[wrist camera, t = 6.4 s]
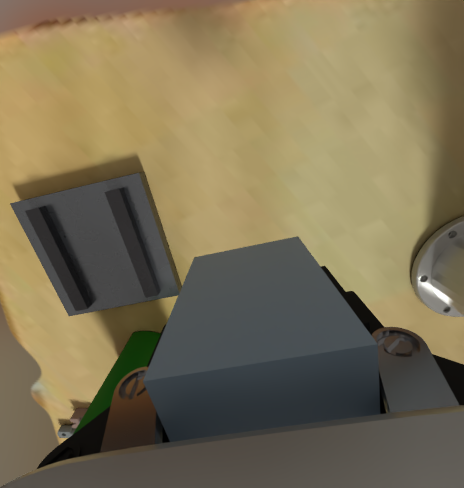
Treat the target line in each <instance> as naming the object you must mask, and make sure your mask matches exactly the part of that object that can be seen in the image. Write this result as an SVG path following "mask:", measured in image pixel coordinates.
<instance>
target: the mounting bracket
mask: <svg viewBox="0 0 464 488" xmlns="http://www.w3.org/2000/svg"><path fill="white" fill-rule="evenodd" d="M10 204H11V206H12V208H13V210H14V212H15V214H16V216H17V218H18V220H19V222H20V224H21V225H22V227H23V229H24V231H25V233H26V235H27V237H28V239H29V241H30V243H31V245H32V247H33V248H34V250H35V252H36V254H37V256H38V258H39V260H40V262H41V264H42V266H43V268H44V269H45V271H46V273H47V275H48V277H49V279H50V281H51V283H52V285H53V287H54V289H55V290H56V292H57V294H58V296H59V298H60V300H61V302H62V304H63V306H64V308H65V310H66V312H67V313H68V315H69V316H73V315H78V314H83V313H88V312H94V311H99V310H104V309H109V308H114V307H120V306H125V305H130V304H135V303H140V302H146V301H151V300H156V299H161V298H166V297H172V296H177V295H179V293H180V291H181V288H182V285H181V282H180V279H179V276H178V273H177V270H176V267H175V264H174V261H173V258H172V255H171V252H170V249H169V246H168V243H167V240H166V237H165V234H164V231H163V228H162V225H161V222H160V218H159V215H158V212H157V209H156V206H155V203H154V200H153V197H152V194H151V191H150V188H149V185H148V182H147V179H146V176H145V173H144V172H140V173H136V174H131V175H127V176H123V177H119V178H115V179H111V180H106V181H102V182H98V183H94V184H90V185H86V186H81V187H77V188H73V189H69V190H65V191H61V192H56V193H52V194H48V195H44V196H40V197H35V198H31V199H27V200H23V201H19V202H15V203H10Z"/></svg>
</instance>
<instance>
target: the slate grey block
mask: <svg viewBox="0 0 464 488" xmlns="http://www.w3.org/2000/svg"><path fill="white" fill-rule="evenodd" d="M143 383H144V385H145V387H146V389H147V392H148V394H149V396H150V398H151V400H152V403H153V405H154V407H155V409H156V411H157V414H158V416H159V418H160V420H161V423H162V425H163V427H164V429H165V431H166V434H167V436H168V438H169V440H170V442H175V441H182V440H189V439H196V438H203V437H211V436H218V435H225V434H233V433H240V432H248V431H255V430H263V429H270V428H278V427H285V426H293V425H300V424H308V423H316V422H323V421H331V420H339V419H347V418H355V417H363V416H371V415H379V414H380V393H379V366H378V344H377V343H376V341H375V340H374V338H373V337H372V336H371V334H370V333H369V332H368V330H367V329H366V328H365V326H364V325H363V324H362V322H361V321H360V320H359V318H358V317H357V316H356V314H355V313H354V311H353V310H352V309H351V307H350V306H349V305H348V303H347V302H346V301H345V299H344V298H343V297H342V295H341V294H340V293H339V291H338V290H337V289H336V287H335V286H334V284H333V283H332V282H331V280H330V279H329V278H328V276H327V275H326V274H325V272H324V271H323V270H322V268H321V267H320V266H319V264H318V263H317V261H316V260H315V259H314V257H313V256H312V255H311V253H310V252H309V251H308V249H307V248H306V247H305V245H304V244H303V243H302V241H301V240H300V239H299V237H293V238H288V239H283V240H278V241H273V242H268V243H263V244H258V245H253V246H248V247H243V248H238V249H234V250H229V251H224V252H219V253H214V254H209V255H204V256H199V257H194V260H193V262H192V264H191V267H190V269H189V272H188V274H187V276H186V279H185V281H184V284H183V286H182V288H181V291H180V293H179V296H178V298H177V300H176V303H175V305H174V308H173V310H172V312H171V315H170V317H169V320H168V322H167V324H166V327H165V329H164V332H163V334H162V336H161V339H160V341H159V344H158V346H157V348H156V351H155V353H154V356H153V358H152V361H151V363H150V365H149V368H148V370H147V373H146V375H145V377H144V380H143Z"/></svg>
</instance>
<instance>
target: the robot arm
mask: <svg viewBox="0 0 464 488" xmlns="http://www.w3.org/2000/svg"><path fill="white" fill-rule="evenodd" d="M321 268H322V270H323V271H324V272H325V274H326V275H327V276H328V278H329V279H330V280H331V282H332V283H333V284H334V286H335V287H336V289H337V290H338V291H339V293H340V294H341V295H342V297H343V298H344V299H345V301H346V302H347V303H348V305H349V306H350V307H351V309H352V310H353V311H354V313H355V314H356V316H357V317H358V318H359V320H360V321H361V322H362V324H363V325H364V326H365V328H366V329H367V330H368V332H369V333H370V334H371V336H372V337H373V338H374V340H375V341H376V343H377V344H378V366H379V393H380V414H379V415H371V416H363V417H355V418H347V419H339V420H331V421H323V422H316V423H308V424H300V425H293V426H285V427H278V428H270V429H263V430H255V431H248V432H240V433H233V434H225V435H218V436H211V437H203V438H196V439H189V440H182V441H175V442H170V440H169V438H168V436H167V434H166V431H165V429H164V427H163V425H162V423H161V420H160V418H159V416H158V414H157V411H156V409H155V407H154V405H153V403H152V400H151V398H150V396H149V394H148V392H147V389H146V387H145V385H144V383H143V380H144V377H145V375H146V373H147V370H148V368H149V365H150V363H151V361H152V358H153V356H154V353H155V351H156V348H157V346H158V344H159V341H160V339H161V336H162V334H163V332H164V329H165V327H166V325H165V326H164V327H163V330H162V332H161V334H160V337H159V339H158V341H157V344H156V346H155V348H154V351H153V353H152V355H151V358H150V360H149V362H148V365H147V367H141V368H138V369H135V370H133V371H131V372H130V373H128V374H127V375H126V376H125V377H124V378H123V379H122V380H120V382H119V383H118V385H117V386H116V388H115V391H114V394H113V398H112V403H111V406H109V407H108V408H107V409H106V410H104V411H103V412H102V413H100V414H99V415H98V416H96V417H95V418H94V419H93V420H91V421H90V422H89V423H87V424H86V425H85V426H84V427H82V428H81V429H80V430H78V431H77V432H76V433H74V434H73V435H72V436H71V437H69V438H68V439H67V440H65V441H64V442H63V443H61V444H60V445H59V446H58V447H56V448H55V449H54V450H53V451H52V452H51V453H49V455H47V457H46V458H45V459H44V460H43V461H42V462H41V463H40V465H39V466H38V468H37V469H36V470H34V471H31V472H29V473H26V474H24V475H22V476H20V477H18V478H16V479H14V480H12V481H10V482H8V483H6V484H5V485H3V486H1V487H0V488H464V365H463V364H460V363H457V362H454V361H451V360H448V359H445V358H442V357H439V356H436V355H433V354H432V353H431V352H430V350H429V348H428V346H427V344H426V343H425V341H424V340H423V339H422V338H421V337H420V336H418V335H417V334H416V333H413V332H411V331H409V330H406V329H403V328H398V327H384V326H383V325H382V324H381V323H380V322H379V321H378V319H377V318H376V317H375V316H374V315H373V314H372V312H371V311H370V310H369V309H368V308H367V306H366V305H365V304H364V303H363V302H362V301H361V299H360V298H359V297H358V296H357V295H356V294H355V293H354V292H353V291H349V292H345V291H344V289H343V288H342V287H341V286H340V284H339V283H338V282H337V280H336V279H335V278H334V277H333V275H332V274H331V273H330V272H329V270H328V269H327V268H326V267H325V266H322V267H321ZM411 280H412V286H413V289H414V292H415V294H416V296H417V297H418V298H419V299H420V301H421V302H422V303H424V304H425V305H426V306H427V307H428V308H430V309H432V310H433V311H435V312H437V313H439V314H442V315H446V316H453V317H464V216H463V217H460V218H458V219H455V220H453V221H452V222H450V223H448V224H446V225H444V226H443V227H442V228H440V229H439V230H438V231H436V232H435V233H434V234H433V235H432V236H431V237H430V238H429V239H428V240H427V241H426V242H425V244H424V245H423V246H422V248H421V249H420V251H419V253H418V255H417V257H416V259H415V261H414V264H413V268H412V277H411Z"/></svg>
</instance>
